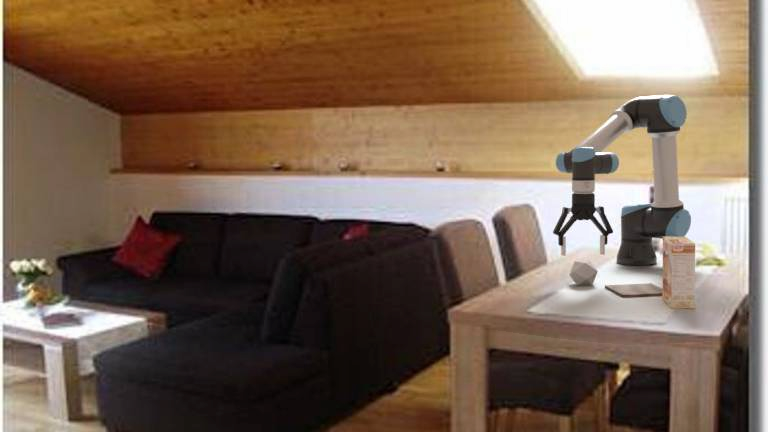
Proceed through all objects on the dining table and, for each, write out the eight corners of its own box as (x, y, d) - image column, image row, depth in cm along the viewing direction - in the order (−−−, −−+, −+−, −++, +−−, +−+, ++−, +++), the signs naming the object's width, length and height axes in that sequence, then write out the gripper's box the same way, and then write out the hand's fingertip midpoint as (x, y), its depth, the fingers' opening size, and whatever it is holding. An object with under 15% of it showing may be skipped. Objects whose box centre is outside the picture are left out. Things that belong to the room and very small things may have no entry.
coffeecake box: (661, 297, 253) (662, 236, 250) (685, 298, 251) (686, 236, 249) (669, 308, 238) (670, 243, 236) (695, 308, 237) (696, 242, 235)
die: (591, 290, 271) (604, 264, 273) (568, 276, 272) (581, 251, 274) (585, 294, 279) (598, 269, 281) (562, 281, 280) (575, 256, 282)
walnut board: (651, 285, 272) (651, 283, 272) (671, 295, 256) (671, 292, 256) (604, 287, 270) (604, 285, 270) (622, 297, 255) (622, 294, 254)
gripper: (550, 194, 269) (550, 257, 271) (623, 192, 271) (622, 255, 273) (544, 192, 276) (544, 254, 278) (615, 191, 278) (614, 252, 280)
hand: (582, 254), depth 276 cm, fingers open, 13 cm apart
